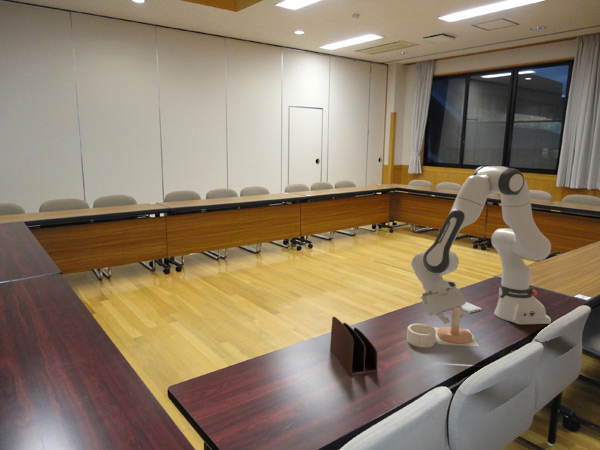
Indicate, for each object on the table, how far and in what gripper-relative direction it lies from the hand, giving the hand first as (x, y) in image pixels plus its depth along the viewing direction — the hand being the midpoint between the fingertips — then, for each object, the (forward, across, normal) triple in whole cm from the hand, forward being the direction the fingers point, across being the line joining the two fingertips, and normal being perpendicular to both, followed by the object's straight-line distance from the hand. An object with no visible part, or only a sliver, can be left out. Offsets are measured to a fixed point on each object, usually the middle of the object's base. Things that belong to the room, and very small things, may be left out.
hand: (455, 320), depth 166 cm
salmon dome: (+5, 0, +5) cm, 7 cm away
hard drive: (-7, +32, +18) cm, 37 cm away
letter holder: (0, -46, +11) cm, 47 cm away
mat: (+5, 0, +5) cm, 7 cm away
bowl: (+2, -14, +8) cm, 17 cm away
